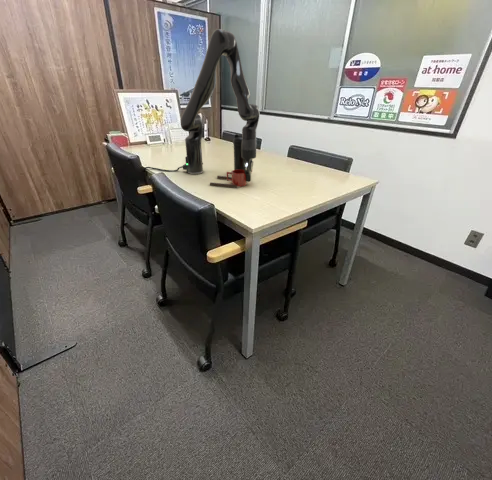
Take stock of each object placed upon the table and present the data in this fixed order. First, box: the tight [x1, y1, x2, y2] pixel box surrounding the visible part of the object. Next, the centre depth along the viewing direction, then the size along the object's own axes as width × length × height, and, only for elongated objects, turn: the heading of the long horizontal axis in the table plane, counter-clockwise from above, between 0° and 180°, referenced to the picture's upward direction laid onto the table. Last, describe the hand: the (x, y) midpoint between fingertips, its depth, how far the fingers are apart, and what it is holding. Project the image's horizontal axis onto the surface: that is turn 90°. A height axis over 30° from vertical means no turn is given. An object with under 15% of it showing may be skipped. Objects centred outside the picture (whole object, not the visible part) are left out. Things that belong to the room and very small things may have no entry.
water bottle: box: [232, 133, 245, 170], centre depth 156 cm, size 10×10×23 cm
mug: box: [226, 169, 247, 188], centre depth 144 cm, size 11×8×7 cm
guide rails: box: [209, 175, 238, 189], centre depth 147 cm, size 15×14×2 cm
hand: (248, 181), depth 143 cm, fingers closed
